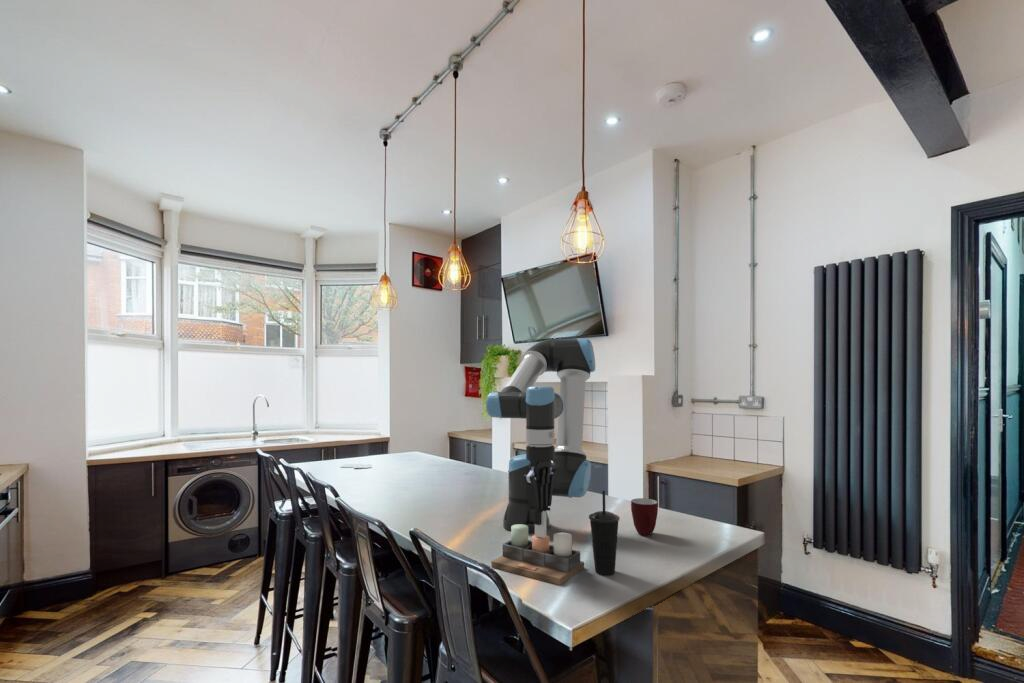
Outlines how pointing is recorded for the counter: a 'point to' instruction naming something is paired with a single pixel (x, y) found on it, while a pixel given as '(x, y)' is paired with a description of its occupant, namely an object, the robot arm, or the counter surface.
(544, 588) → the counter surface
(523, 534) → the pale green rounded cylinder
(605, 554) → the drinking cup
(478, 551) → the counter surface
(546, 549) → the button terracotta
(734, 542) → the counter surface
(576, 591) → the counter surface
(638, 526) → the mug
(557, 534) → the button ivory
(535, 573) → the wooden compartment tray
